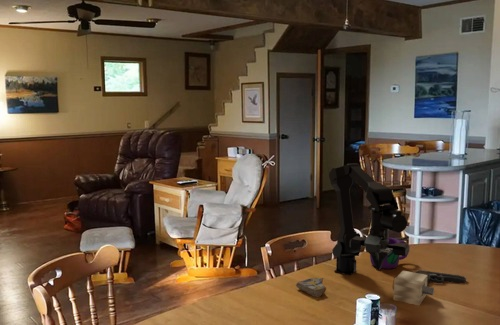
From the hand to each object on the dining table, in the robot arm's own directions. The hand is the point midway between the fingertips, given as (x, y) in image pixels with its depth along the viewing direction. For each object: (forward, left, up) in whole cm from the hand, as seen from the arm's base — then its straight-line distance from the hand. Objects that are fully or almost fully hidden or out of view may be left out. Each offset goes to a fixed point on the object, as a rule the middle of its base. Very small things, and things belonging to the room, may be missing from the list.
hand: (378, 270), depth 162 cm
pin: (+12, 0, -6) cm, 13 cm away
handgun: (+16, +18, -8) cm, 26 cm away
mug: (-4, +29, -7) cm, 30 cm away
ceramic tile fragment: (-19, -12, -8) cm, 24 cm away
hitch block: (+11, 0, -7) cm, 13 cm away
